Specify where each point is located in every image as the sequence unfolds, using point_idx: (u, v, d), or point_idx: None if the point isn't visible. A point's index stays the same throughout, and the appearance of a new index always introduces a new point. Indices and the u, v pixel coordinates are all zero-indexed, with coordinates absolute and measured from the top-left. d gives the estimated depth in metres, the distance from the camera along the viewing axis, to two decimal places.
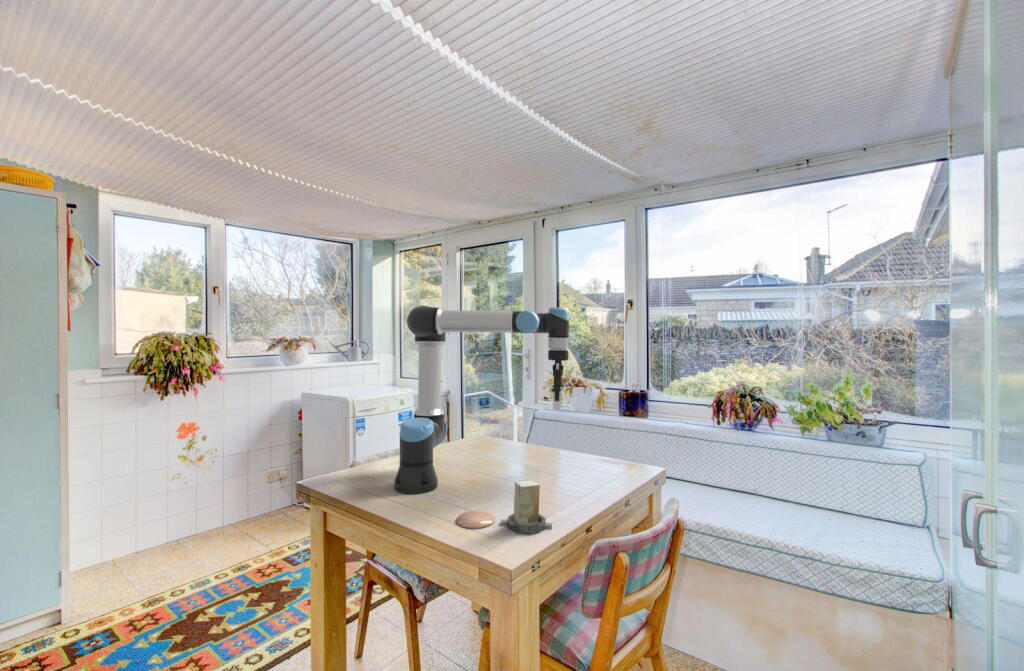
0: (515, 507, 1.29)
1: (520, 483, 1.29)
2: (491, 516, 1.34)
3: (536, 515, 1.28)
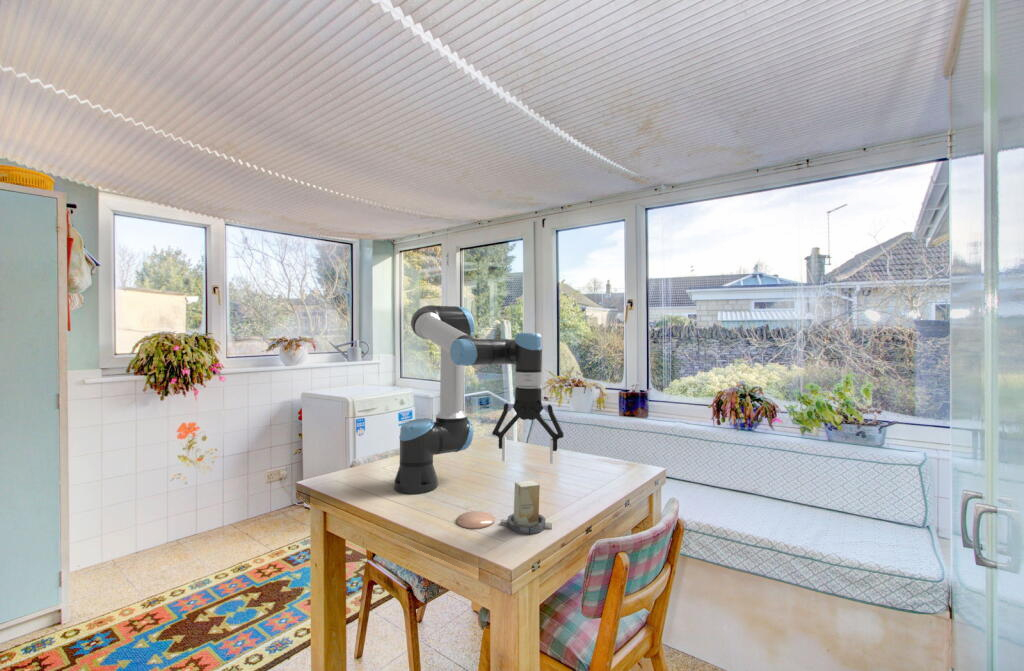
0: (515, 507, 1.29)
1: (520, 483, 1.29)
2: (491, 516, 1.34)
3: (536, 515, 1.28)
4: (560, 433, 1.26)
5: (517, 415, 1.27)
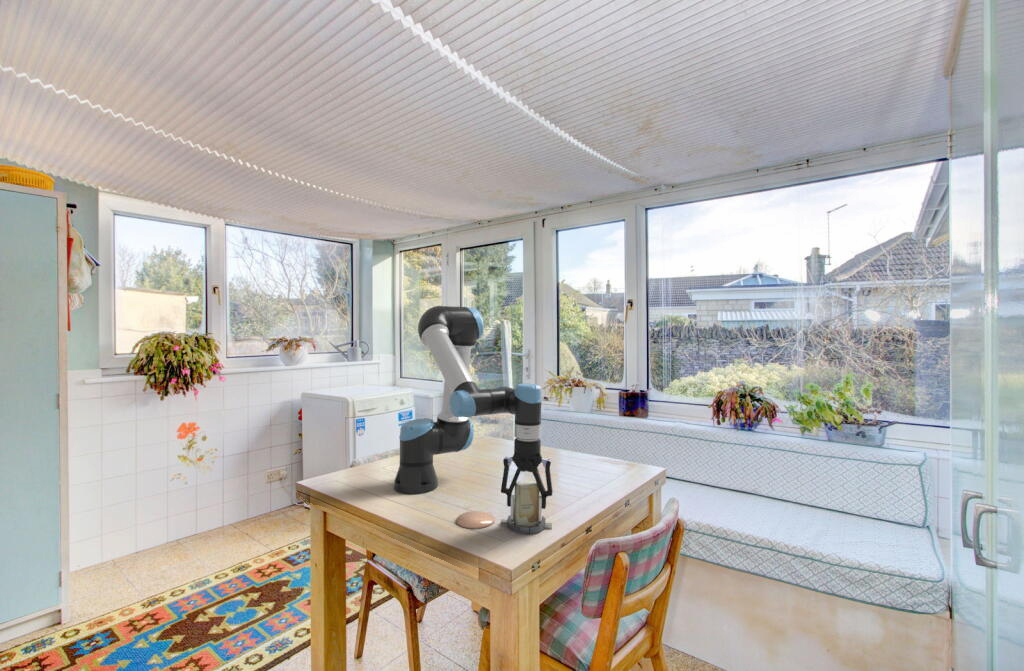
0: (515, 507, 1.29)
1: (520, 483, 1.29)
2: (491, 516, 1.34)
3: (536, 515, 1.28)
4: (549, 491, 1.27)
5: (518, 469, 1.28)
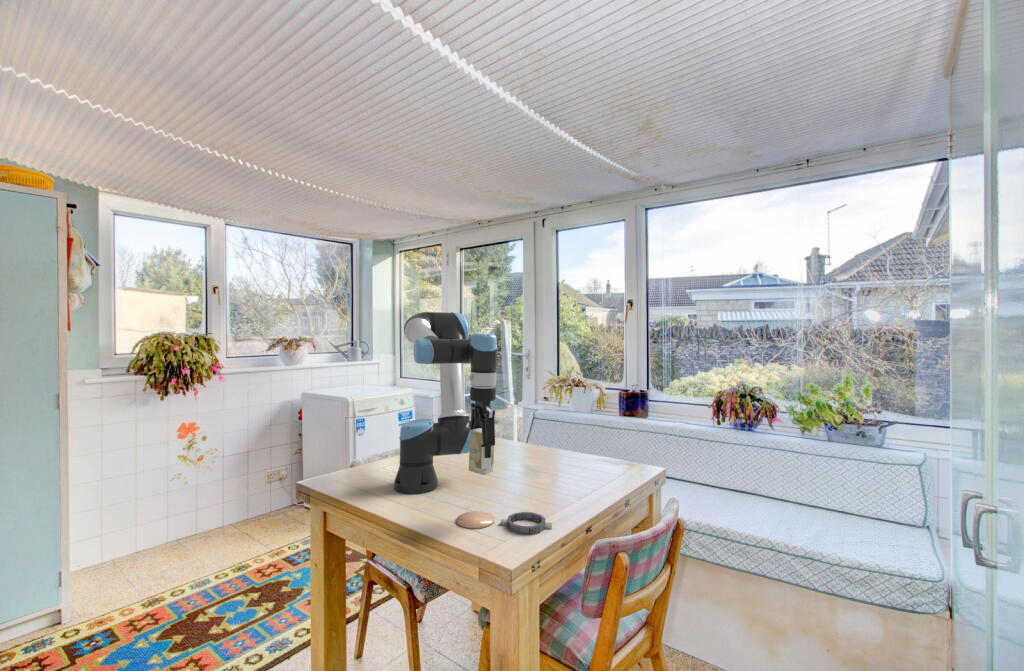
0: None
1: (478, 429, 1.33)
2: (491, 516, 1.34)
3: None
4: (486, 441, 1.25)
5: (474, 414, 1.33)
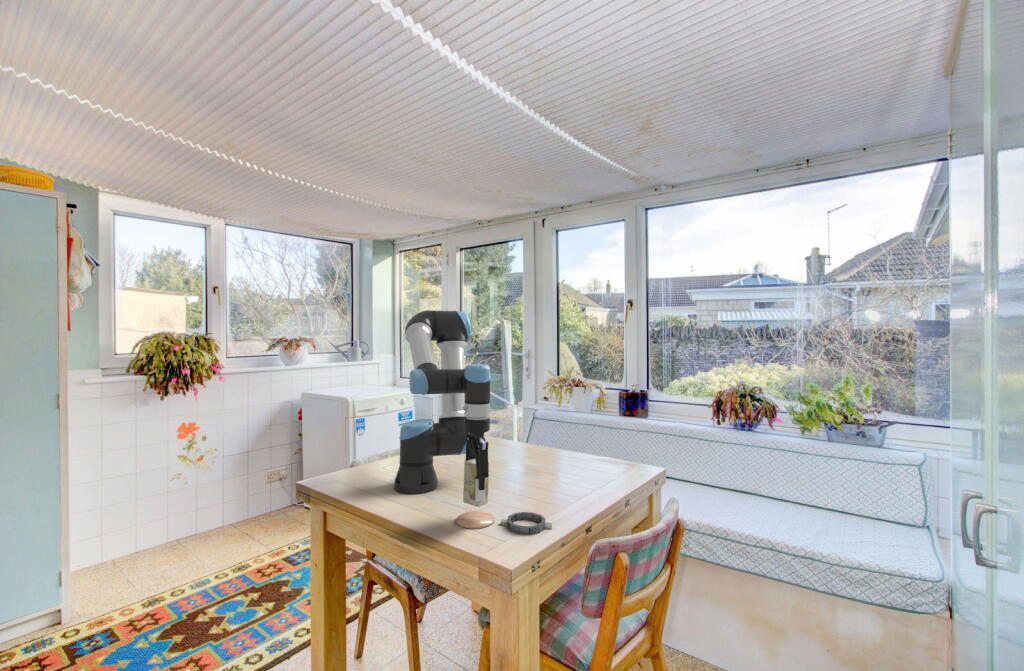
0: None
1: (472, 459, 1.33)
2: (491, 516, 1.34)
3: None
4: (479, 473, 1.25)
5: (468, 445, 1.33)
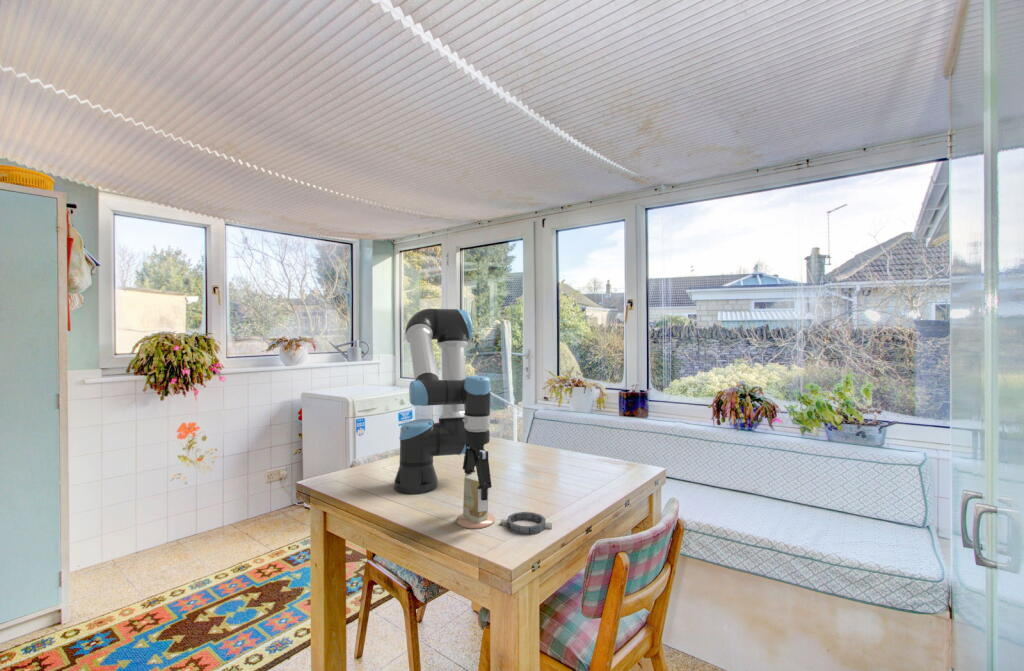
0: None
1: (472, 475, 1.33)
2: (491, 516, 1.34)
3: (476, 511, 1.29)
4: (482, 483, 1.23)
5: (468, 454, 1.34)
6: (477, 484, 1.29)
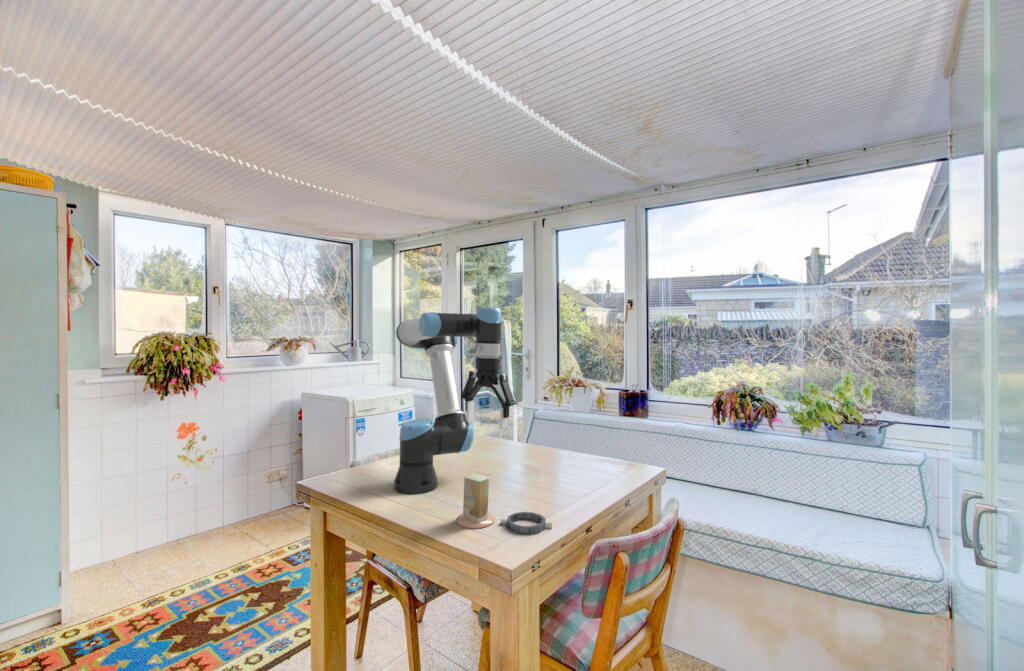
0: None
1: (472, 475, 1.33)
2: (491, 516, 1.34)
3: (476, 511, 1.29)
4: (508, 401, 1.34)
5: (477, 382, 1.41)
6: (477, 484, 1.29)
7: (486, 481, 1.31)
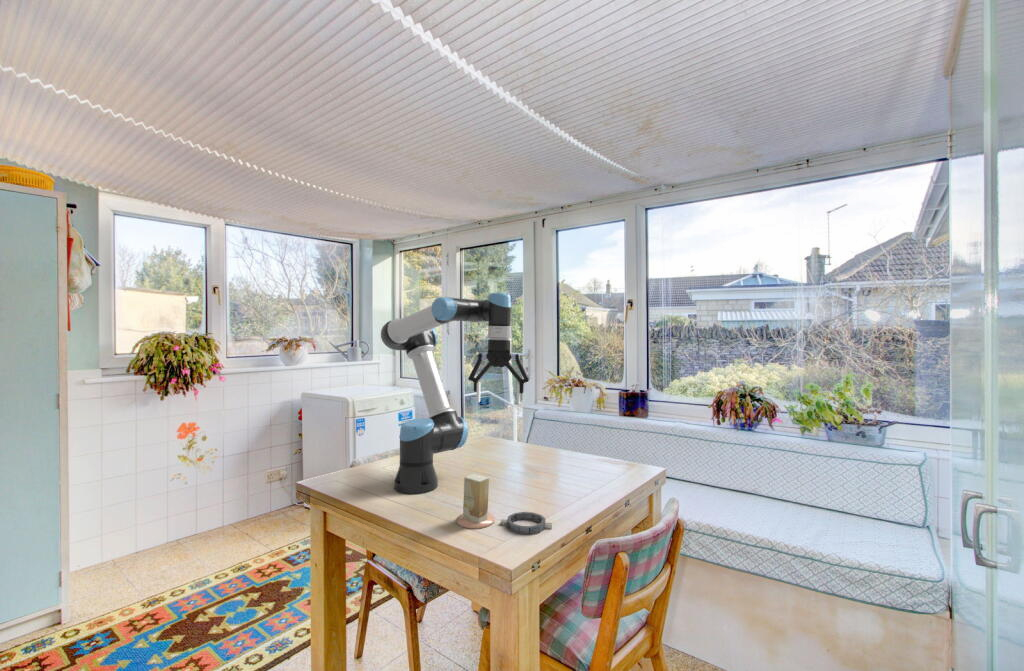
0: None
1: (472, 475, 1.33)
2: (491, 516, 1.34)
3: (476, 511, 1.29)
4: (525, 378, 1.49)
5: (489, 363, 1.50)
6: (477, 484, 1.29)
7: (486, 481, 1.31)
